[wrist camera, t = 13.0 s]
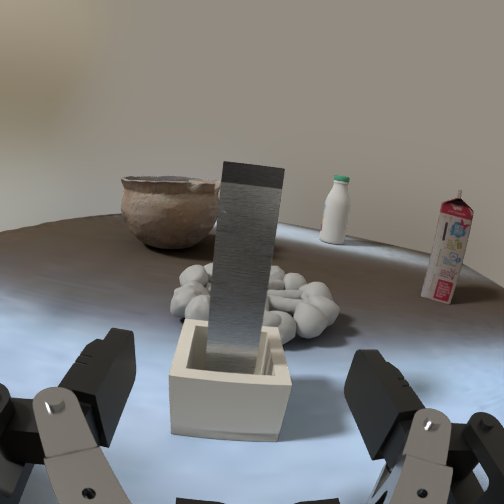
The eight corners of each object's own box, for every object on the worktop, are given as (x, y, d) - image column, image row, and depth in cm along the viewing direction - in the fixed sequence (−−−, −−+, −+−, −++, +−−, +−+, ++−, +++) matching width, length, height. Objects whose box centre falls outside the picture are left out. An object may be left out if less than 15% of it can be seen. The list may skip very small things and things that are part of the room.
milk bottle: (348, 245, 93) (360, 179, 87) (329, 245, 89) (341, 175, 84) (332, 238, 99) (342, 176, 94) (313, 238, 96) (324, 172, 90)
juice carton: (449, 294, 58) (472, 194, 52) (450, 304, 53) (476, 194, 47) (422, 287, 61) (444, 187, 56) (420, 296, 56) (445, 185, 50)
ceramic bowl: (177, 268, 56) (183, 183, 52) (98, 244, 63) (100, 174, 59) (232, 245, 76) (239, 182, 72) (160, 228, 83) (164, 173, 79)
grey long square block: (202, 410, 22) (223, 161, 17) (206, 383, 26) (225, 161, 21) (247, 413, 23) (284, 168, 18) (246, 386, 26) (277, 167, 21)
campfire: (250, 387, 27) (259, 334, 26) (141, 302, 41) (142, 261, 40) (357, 325, 43) (367, 287, 42) (253, 279, 57) (257, 248, 55)
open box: (171, 433, 20) (168, 375, 19) (183, 372, 28) (185, 318, 26) (276, 441, 21) (292, 385, 19) (267, 380, 29) (277, 327, 27)
